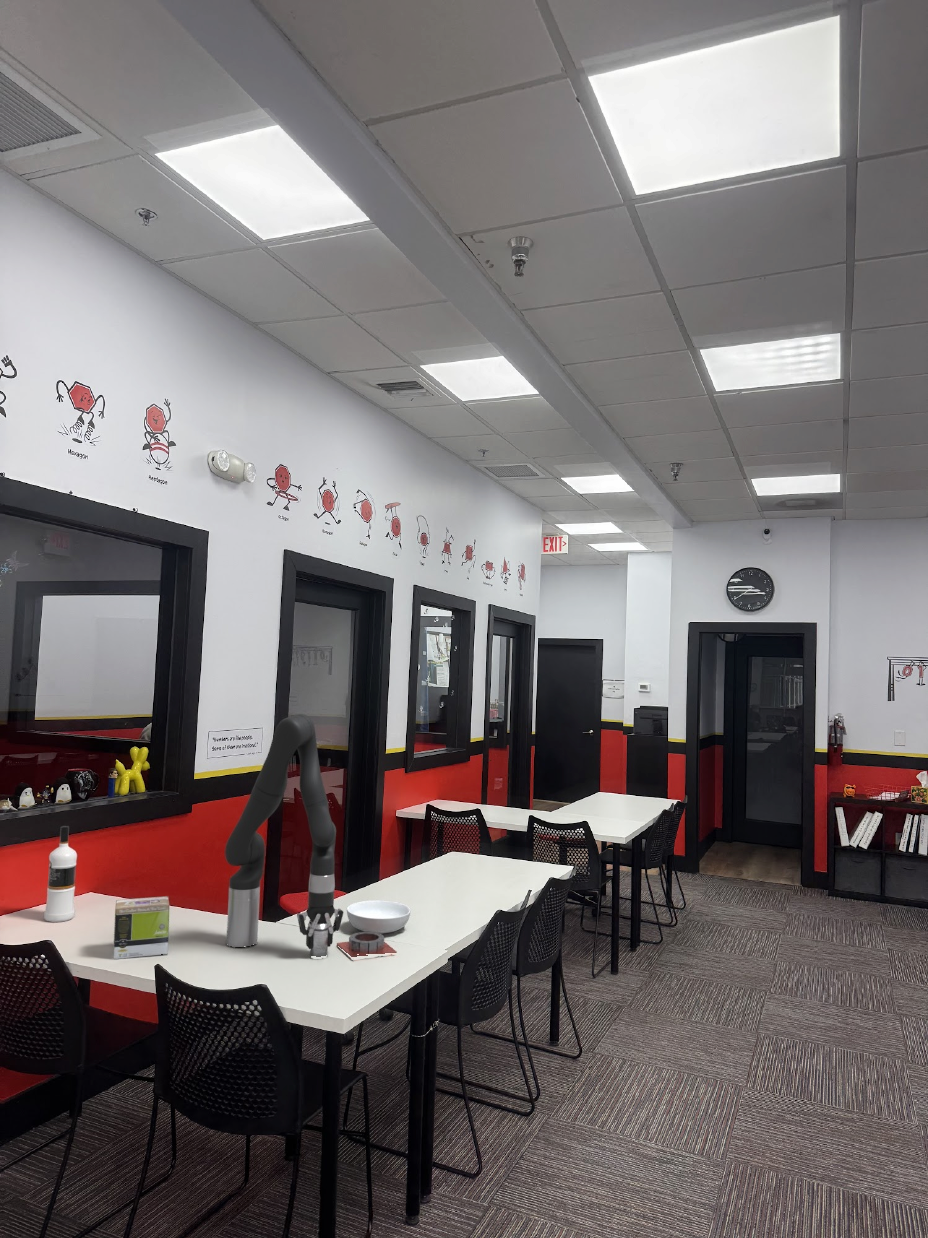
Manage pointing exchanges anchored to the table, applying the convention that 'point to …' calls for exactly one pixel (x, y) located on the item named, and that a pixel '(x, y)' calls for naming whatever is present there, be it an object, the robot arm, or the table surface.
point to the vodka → (61, 881)
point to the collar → (366, 944)
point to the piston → (320, 940)
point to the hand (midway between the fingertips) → (319, 947)
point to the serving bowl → (378, 916)
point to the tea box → (141, 927)
